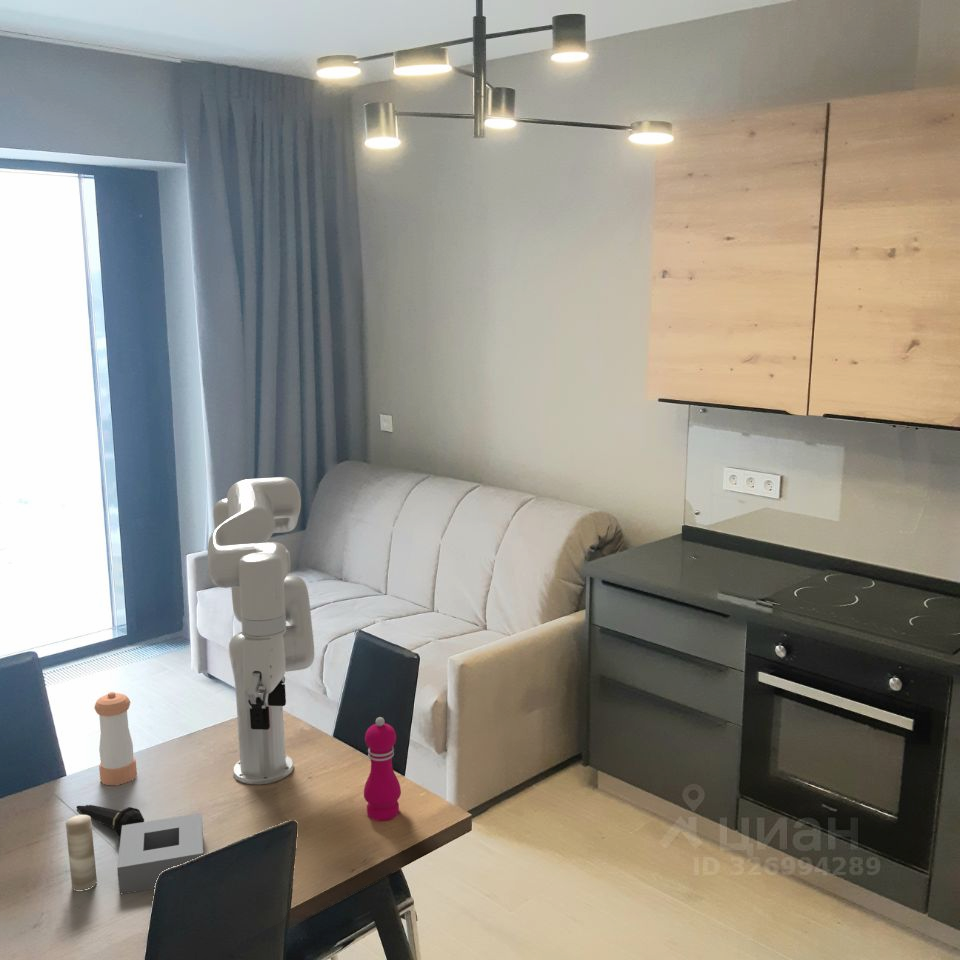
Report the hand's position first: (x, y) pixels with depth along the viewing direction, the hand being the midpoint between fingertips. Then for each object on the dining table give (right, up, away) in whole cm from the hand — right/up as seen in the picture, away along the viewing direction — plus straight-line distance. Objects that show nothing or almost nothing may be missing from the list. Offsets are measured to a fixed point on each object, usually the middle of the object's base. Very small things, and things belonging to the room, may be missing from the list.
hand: (269, 716), depth 168 cm
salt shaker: (-40, -22, +34) cm, 57 cm away
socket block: (-20, -27, +2) cm, 33 cm away
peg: (-31, -28, -3) cm, 42 cm away
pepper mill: (+18, -24, +19) cm, 36 cm away
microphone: (-34, -25, +17) cm, 46 cm away
